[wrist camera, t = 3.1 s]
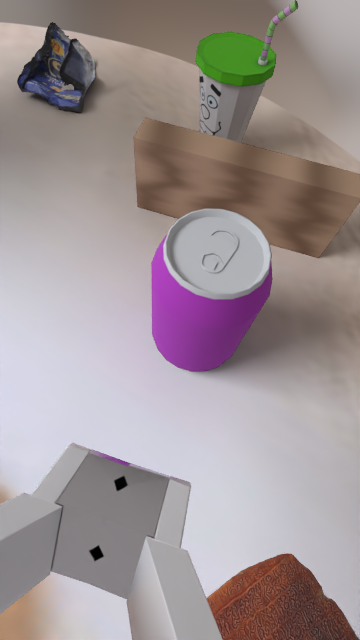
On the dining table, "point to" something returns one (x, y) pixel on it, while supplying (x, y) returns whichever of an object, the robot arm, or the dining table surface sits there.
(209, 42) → the cup
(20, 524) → the robot arm
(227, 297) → the beverage can
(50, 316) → the dining table surface
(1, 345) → the dining table surface
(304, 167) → the board
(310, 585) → the wooden tablet
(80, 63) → the snack package
